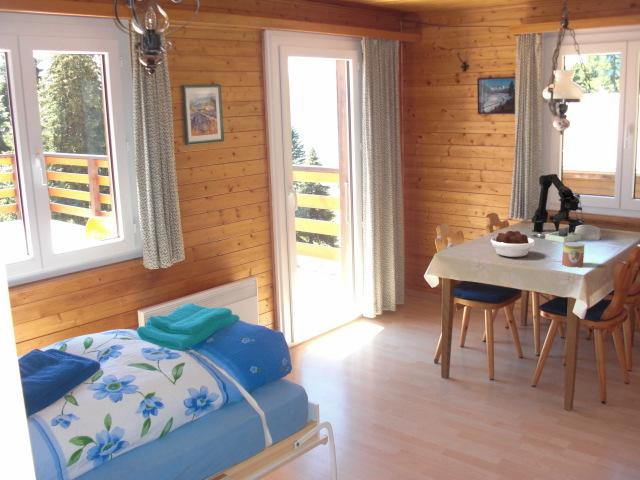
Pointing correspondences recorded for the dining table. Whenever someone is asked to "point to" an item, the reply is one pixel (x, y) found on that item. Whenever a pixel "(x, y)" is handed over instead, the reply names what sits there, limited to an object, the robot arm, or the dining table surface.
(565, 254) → the canned food
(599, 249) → the dining table surface
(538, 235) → the stud
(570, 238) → the bin
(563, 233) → the strut
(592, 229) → the white arched block
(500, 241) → the bowl of brown food
